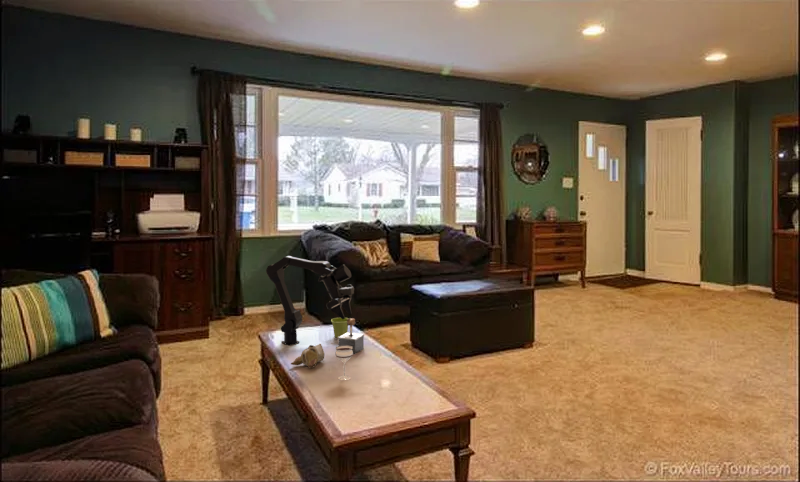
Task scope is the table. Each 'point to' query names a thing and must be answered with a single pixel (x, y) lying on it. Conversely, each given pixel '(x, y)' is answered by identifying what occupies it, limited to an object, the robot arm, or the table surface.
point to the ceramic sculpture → (310, 356)
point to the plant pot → (339, 326)
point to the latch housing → (352, 341)
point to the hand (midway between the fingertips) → (347, 316)
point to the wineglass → (344, 357)
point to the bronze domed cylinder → (350, 322)
